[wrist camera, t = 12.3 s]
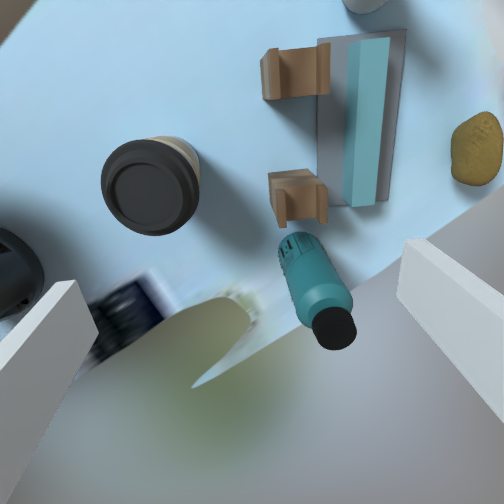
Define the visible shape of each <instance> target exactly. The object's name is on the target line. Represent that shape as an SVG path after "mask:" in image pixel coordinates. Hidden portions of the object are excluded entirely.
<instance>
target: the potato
mask: <svg viewBox="0 0 504 504" xmlns="http://www.w3.org/2000/svg"><path fill="white" fill-rule="evenodd" d="M503 140H504V138H503V132H502V129H501V126H500V123H499V121H498V120H497V118H496V117H495V116H494V115H493V114H492V113H490V112H481V113H479V114H477V115H475V116H473V117H472V118H470V119H468V120H467V121H465V122H463V123H462V124H461V125H459V126H458V127H457V128H456V130H455V131H454V133H453V135H452V139H451V157H452V167H451V174H452V176H453V177H454V178H455V179H456V180H457V181H459V182H461V183H464V184H467V185H471V186H482V185H485V184H487V183H489V182H490V181H491V180H493V179H494V177H495V176H496V175H497V173H498V172H499V169H500V167H501V163H502V155H503Z"/></svg>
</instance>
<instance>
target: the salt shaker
mask: <svg viewBox="0 0 504 504" xmlns="http://www.w3.org/2000/svg"><path fill="white" fill-rule="evenodd" d="M342 2H343V3H344V4H345V5H346V6H347V7H348V9H349V10H350V11H353V12H355V13H358V14H361V15H362V14H366V13H370V12H374V11H376V10H377V9H378V8H380V7H381V6H382V5H383V4H384V3H386V2H387V0H342Z"/></svg>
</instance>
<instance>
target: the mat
mask: <svg viewBox="0 0 504 504" xmlns="http://www.w3.org/2000/svg"><path fill="white" fill-rule="evenodd" d="M406 30H407V29H403V30H394V31H384V32H375V33H365V34H356V35H346V36H337V37H327V38H318V39H317V46H318V45H320V44H321V43H330V42H331V55H330V94H323V95H317V178H318V179H319V180H320V181H321V182H322V183H323V184H324V185H325V186H326V187H327V188H328V206H337V205H346V204H347V203H346V202H345V201H344V200H343V199H342V181H343V157H344V132H345V108H346V84H347V59H348V46H349V45H351V44H353V43H356V42H358V41H360V40H367V39H376V38H386V37H390V45H389V55H388V66H387V77H386V88H385V99H384V109H383V120H382V131H381V142H380V153H379V163H378V174H377V185H376V196H375V201H383V200H388V191H389V182H390V173H391V165H392V156H393V147H394V138H395V129H396V120H397V111H398V102H399V93H400V84H401V75H402V66H403V57H404V48H405V39H406Z"/></svg>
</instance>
